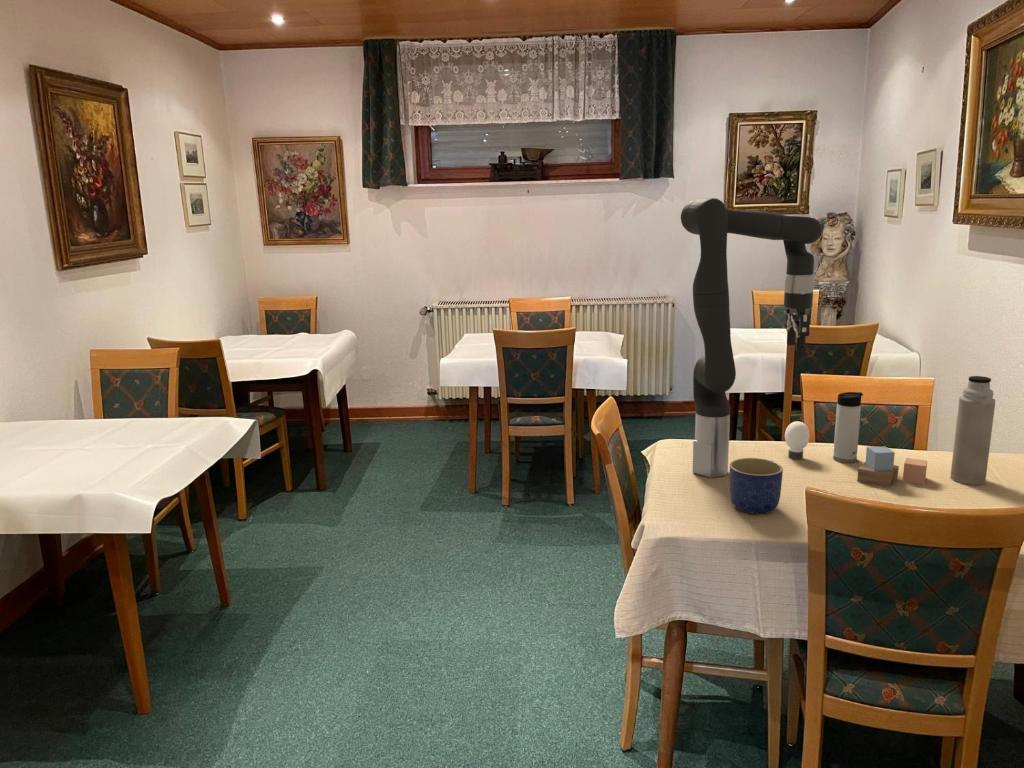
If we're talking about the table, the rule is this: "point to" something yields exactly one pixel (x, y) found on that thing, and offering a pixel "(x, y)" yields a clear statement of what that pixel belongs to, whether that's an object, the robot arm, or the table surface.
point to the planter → (755, 485)
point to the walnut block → (877, 476)
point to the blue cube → (880, 458)
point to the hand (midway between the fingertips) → (795, 347)
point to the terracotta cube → (915, 470)
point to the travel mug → (847, 427)
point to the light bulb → (796, 439)
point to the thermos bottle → (973, 432)
